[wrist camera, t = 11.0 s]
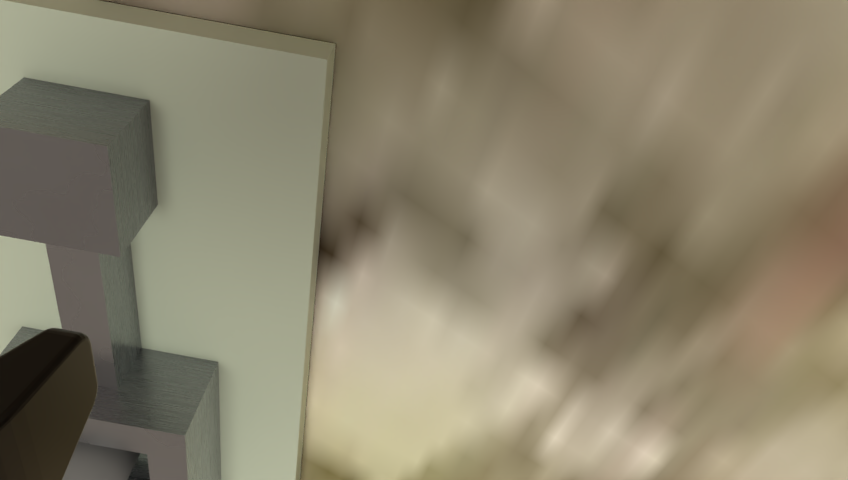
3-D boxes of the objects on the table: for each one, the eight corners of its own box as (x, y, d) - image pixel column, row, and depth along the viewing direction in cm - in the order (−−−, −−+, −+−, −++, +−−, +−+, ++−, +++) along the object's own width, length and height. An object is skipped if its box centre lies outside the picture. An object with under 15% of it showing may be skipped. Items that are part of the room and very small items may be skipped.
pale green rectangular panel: (335, 43, 19) (284, 140, 15) (297, 512, 30) (263, 637, 26) (-145, -45, 18) (-331, 27, 14) (4, 459, 30) (-76, 576, 26)
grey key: (212, 111, 19) (167, 172, 16) (221, 481, 28) (193, 556, 26) (-39, 65, 19) (-122, 120, 16) (51, 451, 28) (7, 522, 26)
